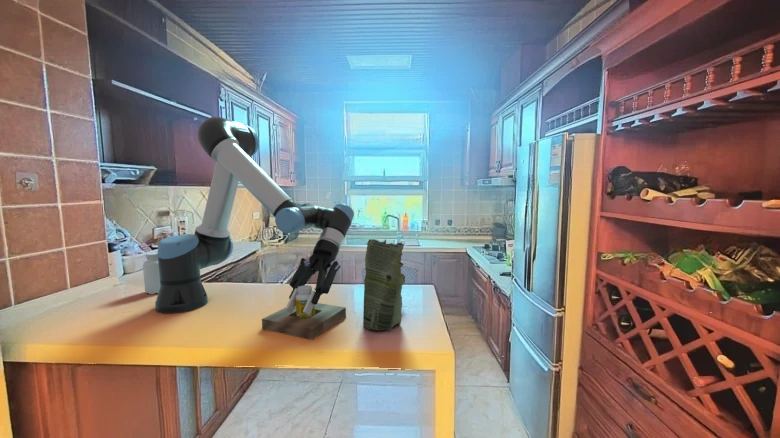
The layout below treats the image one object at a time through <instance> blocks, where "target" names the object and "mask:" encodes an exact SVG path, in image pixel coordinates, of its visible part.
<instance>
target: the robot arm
mask: <svg viewBox="0 0 780 438" xmlns="http://www.w3.org/2000/svg"><path fill="white" fill-rule="evenodd" d="M197 140H198V143H199V145H200V147H201V148H202V149H203V150H204V152H205V153H206V154H207V156H209V158H211V159H212V160H213V161H214V162H215V166H214V168H213V169H214V170H213V173H212V178H211V184H210V187H209V191H208V196H207V199H206V203H205V207H204V208H205V209H204V213H203V217H202V222H201V223H200V224H199V225H198V226H196V227H195V230H194V234H192V233H187V234H179V235H172V236H168V237H166V238H163V239H161V240H160V241H159V242H158V243H157V252H158V253H157V256H158V263H159V275H160V289H159V292H158V294H157V296H156V300H155V311H156V312H157V313H160V312H161V313H162V314H177V313H183V312H189V311H192V310H196V309H200V308H201V307H203V306H205V305H207V304H208V302H209V300H208V294H207V292H206V290H205V287H204V285H203V283H202V280H201V270H202V269H206V268H208V267H211V266H217V265H220V264H222V263H223V262H225V261H226V260H228V259H229V258H230V256H231V255H232V253H233V250H234V243H233V242H232V237H231V232H230V231H229V230H228V226H229V223H230V219H231V215H232V211H233V206H234V201H235V198H236V195H237V191H238V186H239V183H240V184H241V185H243V186H244V188H245V189H246V190H247V191H248V192H249V193H250V194H251V195H252V196H253V197H254V198H255V199H256V200H257V201H258V202H259V203H261V205H262V206H263V207H264V208H265V209H266V210H267V211H269V213H270V214H271V215H272V216H273V217H274V223H275V225H276V227H277V229H278V230H279V231H280V232H282V233H286V234H294V233H299V232H300V231H303V230H307V229H310V228H315V229H319V230H322V232H321V234H319V237H318V240H317V241H316V243H315V245H314V247H313V250H312V255H311V256H310V257H309V258H305V257H301V259H300V262H299V265H298V266H297V267H298V268H297V269H296V271H295V273H294V274H293V276H292V278H291V280H290V282H289V286H290V287H291V288H292V291H291V292H290V294H289V298H288V299H289V300H288V302H287V304H286V306H285V307H284V308H285V309H286V310H288V311H289V312H290V313H292V312H293V310H294V308H295V306H296V295H297V294H299V293H298V287H299V286H303V285H307V283H308V282H309V280H310V279H311V278H312V277H313V276H314V275H315V274H316V273H317V272H318V275H317V278H316V284H315V288H313V290H312V292H311V295H310V297H309V299H308V301H307V303H306V305H305V308H304V310H303V312H304V313H305V314H306V315H307V316H310V314H311V311H312V309H313V307H314V305H316V304H317V303H319V300H320V298H321V296H322V295H324V294H326V295H327V294H329V292H330V290H331V287H332V285H333V283H334V280H335V277H336V274H337V272H338V271H339V269H341V265H340V263H339V262H338V261H337V260H336V259H337V256H338V254H339V252H340V249H341V247H342V244H343V242H344V240H345V238H346V236H347V234H348V232H349V229H350V226H351V225H352V222H353V219H354V217H355V211H354V210H353V208H352V207H351V206H350V205H347V204H345V203H342V202H341V203H337V204H335V205H334V207H333V208H330V207H324V206H320V205H315V204H311V203H308V202H299V203H296V202H295V201H294V200H293V198H292V197H290V196H289V195H288V194H287V193H286V192H285V191H284V190H283V189H282V187H280V186H279V185H278V184H277V183H276V182H275V181H274V180H273V179H272V178H271V177H270V176H269V174H267V173H266V172H265V171H264V170H263V169H262V168H261V167H260V166H259V165H258V164H257V163H256V162H255V161H254V160H253V159H252V158H251V157H252V156H254V155H255V154H256V153H257V152H258V149H259V146H260V140H259V136H258V135H257V133H256V130H255V129H253V127H251V126H249V125H247V124H246V123H243V122H240V121H235V120H232V119H231V120H230V119H228V118H224V117H220V116H213V117H209V118H206V119H205V120H203V121H202V122H201V123H200V125H199V127H198V129H197Z"/></svg>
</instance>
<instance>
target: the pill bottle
mask: <svg viewBox="0 0 780 438" xmlns="http://www.w3.org/2000/svg"><path fill="white" fill-rule="evenodd" d="M157 253H158V251H153V252H148V253H146V254H145V258H146V260H145V261H144V262H143V264H142V269H143V271H142V272H143V282H144V283H143V284H144V292H145V294H147V293H149V294H148V295H156V294H155V293H158V292H159V289H160V275H159V263H158V256H157Z"/></svg>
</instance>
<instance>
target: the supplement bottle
mask: <svg viewBox="0 0 780 438" xmlns="http://www.w3.org/2000/svg"><path fill="white" fill-rule="evenodd" d="M312 286H313V285H309V284H305V285H303V286H299V287H298V293H299V294H297V295H296V317H300V318H305V319H309V318H311V317H312V316H314V315H315V305H314V307H313V309H312V311H311V314H310V316H307V315H306V314H305V313H304V312H303V310H304V308H305V305H306V303H307V301H308V299H309V297H310V295H311V292H312V291H313V287H312Z"/></svg>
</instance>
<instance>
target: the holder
mask: <svg viewBox="0 0 780 438" xmlns="http://www.w3.org/2000/svg"><path fill="white" fill-rule="evenodd" d="M285 308H286V307H284V308H281V309H280V310H277V311H275V312H273V313H272V314H269V315H267V316H265V317H263V318H261V326H262V327H261V328H262V330H264V331H270V332H274V333H278V334H284V335H288V336H293V337H297V338H302V339H306V340H307V339H308V340H312V341H313V340H314V339H316V338H317V337H318V336H320V335H321V334H323V333H325V332H326V331H327V330H329V329H330V328H331V327H333V326H335V325H336V324H338V323H339V322H341V321H342V320H343V319H345V318H347V307H345V306H339V305H333V304H332V305H331V304H326V303H320V302H318V303H317V304H316V305H315V315H314V316H312V317H311V318H309V319H305V318H300V317H296V306H295V308H294V310H293V312H292V313H290V312H289V311H288V310H286V309H285Z"/></svg>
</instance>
